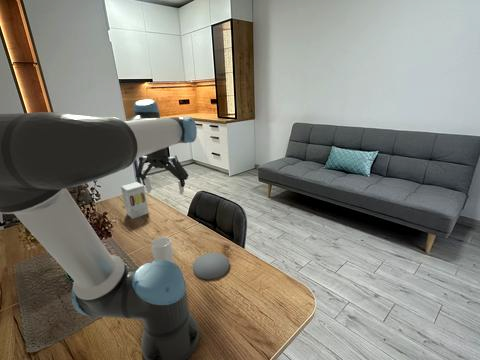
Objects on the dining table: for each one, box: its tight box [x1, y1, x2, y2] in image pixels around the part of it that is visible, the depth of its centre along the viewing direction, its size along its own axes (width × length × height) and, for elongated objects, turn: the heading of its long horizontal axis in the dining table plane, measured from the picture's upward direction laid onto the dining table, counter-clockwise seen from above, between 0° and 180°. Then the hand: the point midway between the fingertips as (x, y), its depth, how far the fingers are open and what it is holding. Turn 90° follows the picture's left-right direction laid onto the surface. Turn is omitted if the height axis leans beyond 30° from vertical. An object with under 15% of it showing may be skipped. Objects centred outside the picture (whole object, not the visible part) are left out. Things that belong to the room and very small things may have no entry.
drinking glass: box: [150, 236, 174, 263], centre depth 92 cm, size 7×7×15 cm
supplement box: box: [120, 181, 149, 220], centre depth 140 cm, size 10×9×17 cm
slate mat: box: [192, 252, 230, 280], centre depth 98 cm, size 14×14×1 cm
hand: (165, 191), depth 103 cm, fingers open, 13 cm apart
